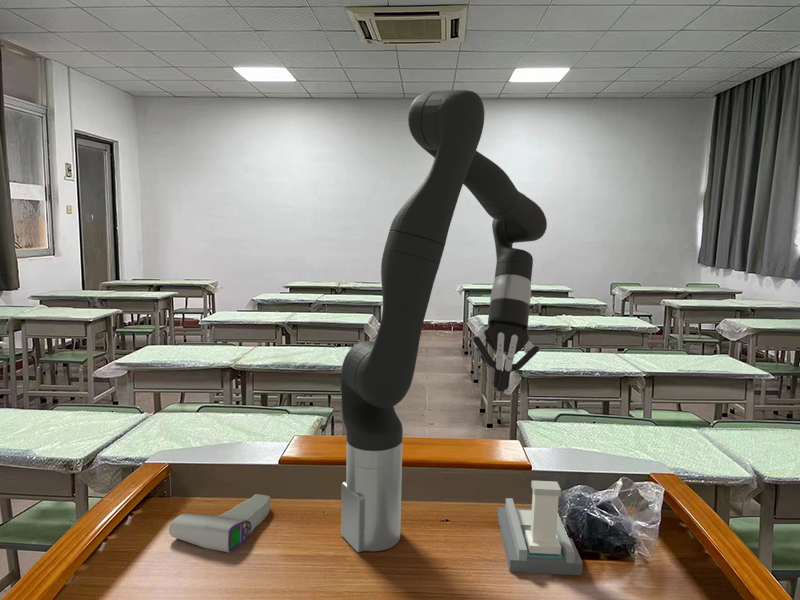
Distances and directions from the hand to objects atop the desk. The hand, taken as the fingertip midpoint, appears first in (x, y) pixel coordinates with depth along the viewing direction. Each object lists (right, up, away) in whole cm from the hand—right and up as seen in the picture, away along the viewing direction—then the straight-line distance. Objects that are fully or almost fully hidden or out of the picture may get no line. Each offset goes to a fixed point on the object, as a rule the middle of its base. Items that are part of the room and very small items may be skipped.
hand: (499, 391), depth 106 cm
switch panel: (+4, -24, -10) cm, 26 cm away
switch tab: (+4, -22, -15) cm, 27 cm away
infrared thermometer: (-49, -23, -6) cm, 54 cm away
